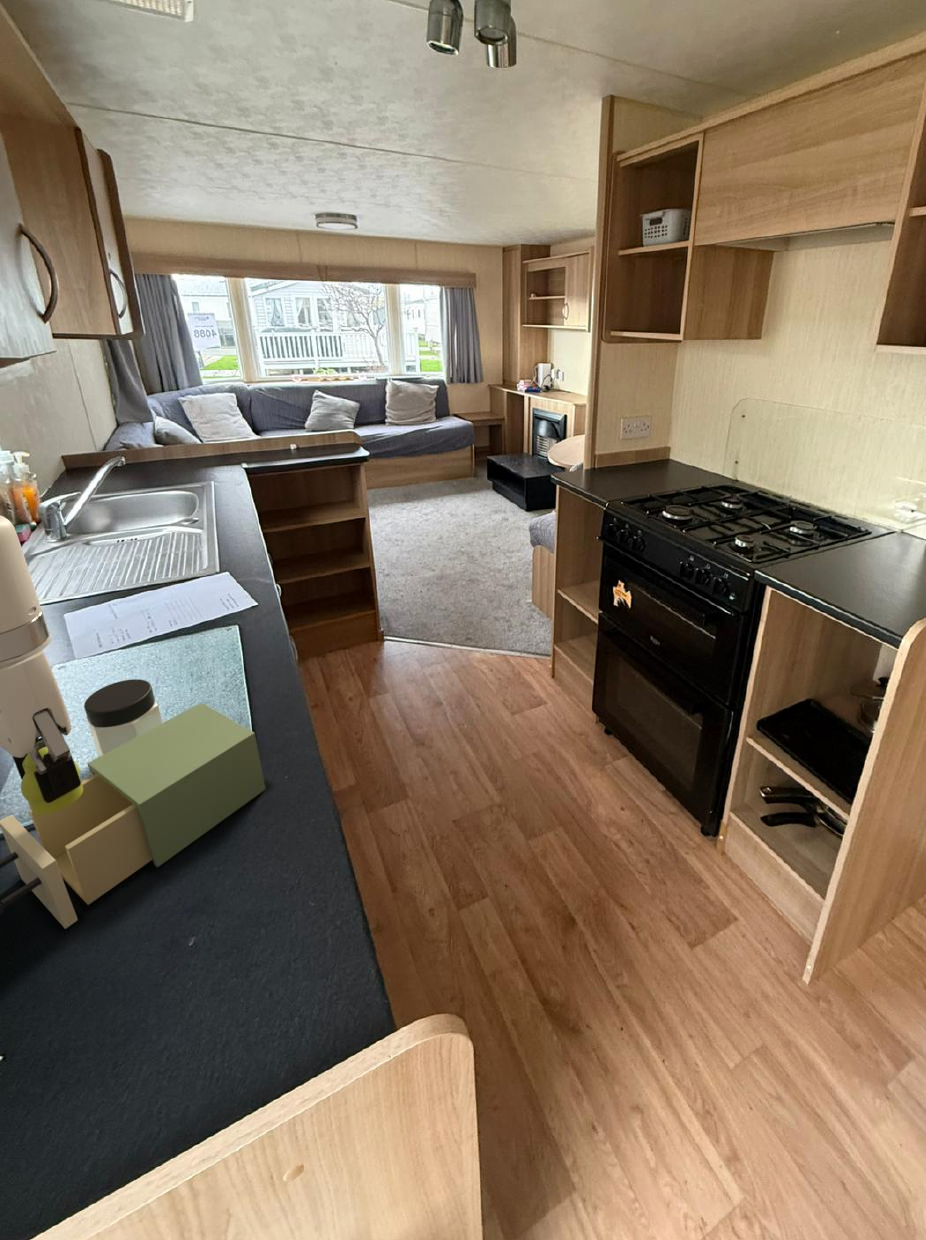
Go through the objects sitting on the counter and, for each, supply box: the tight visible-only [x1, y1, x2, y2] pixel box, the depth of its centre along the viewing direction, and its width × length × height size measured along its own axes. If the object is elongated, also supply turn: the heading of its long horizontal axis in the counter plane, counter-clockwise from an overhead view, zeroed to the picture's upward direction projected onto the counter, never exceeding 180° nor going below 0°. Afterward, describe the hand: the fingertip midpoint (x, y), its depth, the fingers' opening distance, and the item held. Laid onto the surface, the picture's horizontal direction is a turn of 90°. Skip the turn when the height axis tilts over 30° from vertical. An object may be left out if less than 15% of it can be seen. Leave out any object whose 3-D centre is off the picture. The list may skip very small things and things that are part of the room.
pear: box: [20, 746, 83, 815], centre depth 62 cm, size 5×5×8 cm
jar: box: [83, 678, 164, 757], centre depth 84 cm, size 9×8×12 cm
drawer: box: [0, 774, 153, 930], centre depth 66 cm, size 18×11×9 cm, turn 148°
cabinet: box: [87, 702, 266, 868], centre depth 76 cm, size 15×13×11 cm
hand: (51, 781), depth 63 cm, fingers closed on pear, 5 cm apart
